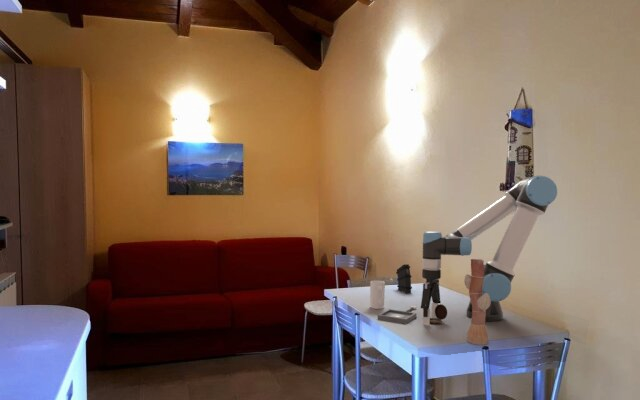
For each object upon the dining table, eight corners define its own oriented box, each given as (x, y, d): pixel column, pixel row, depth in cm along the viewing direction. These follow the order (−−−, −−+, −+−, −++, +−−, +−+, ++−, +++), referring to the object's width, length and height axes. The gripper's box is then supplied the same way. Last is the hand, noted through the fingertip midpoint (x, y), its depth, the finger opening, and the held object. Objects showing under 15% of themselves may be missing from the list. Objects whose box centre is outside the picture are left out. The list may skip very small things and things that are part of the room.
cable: (416, 309, 223) (416, 306, 223) (405, 315, 211) (405, 312, 211) (411, 308, 224) (411, 305, 224) (400, 314, 213) (400, 311, 213)
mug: (367, 306, 228) (368, 280, 227) (380, 305, 229) (381, 280, 229) (376, 311, 218) (376, 284, 218) (389, 310, 220) (390, 284, 220)
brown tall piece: (493, 344, 171) (494, 260, 171) (474, 345, 170) (476, 260, 169) (477, 336, 182) (479, 256, 181) (459, 337, 180) (461, 256, 180)
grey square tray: (416, 317, 208) (416, 313, 208) (406, 323, 198) (406, 319, 197) (389, 313, 215) (389, 309, 215) (377, 319, 204) (377, 314, 204)
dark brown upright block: (408, 291, 255) (403, 264, 261) (398, 297, 267) (394, 271, 273) (414, 291, 256) (409, 264, 262) (404, 297, 267) (400, 271, 274)
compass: (423, 322, 201) (423, 304, 200) (436, 319, 205) (436, 302, 205) (438, 326, 194) (438, 308, 194) (451, 324, 198) (451, 306, 198)
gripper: (431, 264, 212) (430, 314, 213) (413, 271, 192) (412, 326, 193) (448, 266, 208) (447, 316, 209) (431, 273, 189) (430, 329, 189)
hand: (430, 321), depth 201 cm, fingers open, 11 cm apart
